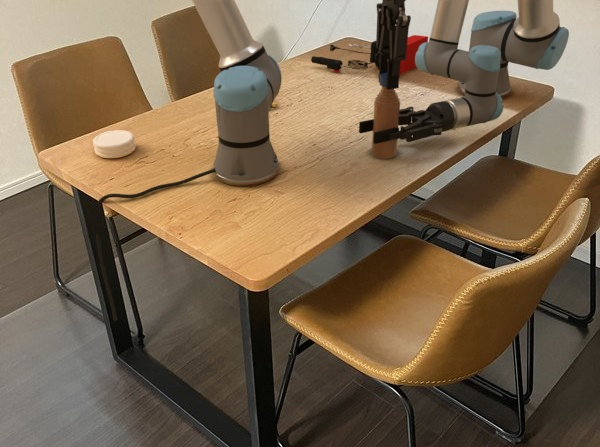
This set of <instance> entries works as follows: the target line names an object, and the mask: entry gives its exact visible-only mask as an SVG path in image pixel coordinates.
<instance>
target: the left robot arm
mask: <svg viewBox="0 0 600 447" xmlns="http://www.w3.org/2000/svg"><path fill="white" fill-rule="evenodd" d="M191 1H192V3H193V5H194V7H195V9H196V11H197V13H198V15H199V16H200V19H201V21H202V23H203V25H204V26H205V29H206V30H207V33H208V34H209V37H210V38H211V41H212V43H213V45H214V47H215V48H216V50H217V52H218V54H219V61H218V65H217V66H218V68H219V70H220V72H219V73H218V74H217V75H216V76H215V78H214V81H213V100H214V106H215V115H216V126H217V135H218V145H217V149H216V153H215V159H214V162H213V167H212V169H209V170H205V171H203V172H200V173H197V174H195V175H192V176H190V177H187V178H185V179H182V180H179V181H175V182H169V183H164V184H163V183H162V184H158V185H155V186H152V187H150V188H147V189H145V190H143V191H140V192H136V193H132V194H124V193H107V194H105V195H103V196H102V197H100V198H99V199H98V201H97V203H98V204H102V203H103V202H104V201H105V200H107V199H111V198H118V199H135V198H140V197H142V196H145V195H147V194H150V193H152V192H155V191H158V190H162V189H167V188H171V187H177V186H181V185H184V184H187V183H190V182H192V181H195V180H197V179H199V178H202V177H205V176H208V175H211V174H213V176H214V177H215V179H217V181H219V182H220V183H223V184H225V185H228V186H229V185H230V186H234V187H251V186H252V187H253V186H257V185H261V184H265V183H267V182H269V181H271V180H273V179H274V178H275V177H276V176H277V175H278V174H279V171H280V166H279V164H280V163H279V160H278V156H277V153H276V151H275V149H274V146H273V144H272V142H271V138H270V136H271V135H270V134H271V133H270V107H271V108H272V106H271V105H272V103H273V101H274V102H275V99H276V98H277V96H278V95H279V93H280V91H281V87H282V79H283V78H282V70H281V67H280V65H279V64H278V62H277V61H276V59H275V58H274V57H273V56H272V55H270V54H268V52H267V50H266V48H265V46H264V44H263V43H262V42H260V41H258V40H255V39H254V38H253V36H252V33H251V32H250V30H249V27H248V26H247V23H246V22H245V20H244V17H243V15H242V13H241V11H240V9H239V6H238V5H237V3H236V1H235V0H191ZM381 1H382V2H380V3H379V2H378V3H376V38H375V41H376V48H379V53H381V54H380V64H379V70H378V83H379V84H380V74H381V73H385V72H387V84H386V89H387V90H388V89H394V90H397V89H399V85H400V75H399V74H400V61H404V60H406V51H407V41H408V37H409V29H410V24H411V20H412V16H411V15H406V4H405V2H406V1H407V0H381ZM388 52H390V53H388ZM95 234H96V246H97V247H96V248H97V252H98V254H97V255H98V259H99V260H98V261H99V265H100V269H101V270H100V271H101V274H102V276H103V281H104V285H105V288H106V292H107V296H108V301H109V304H110V308H111V313H112V317H113V322H117V321H118V316H117V312H116V305H115V301H114V298H113V293H112V290H111V287H110V282H109V280H108V275H107V271H106V266H105V262H104V256H103V250H102V241H101V236H100V235H99V234H98V233H97V232H96V233H95Z"/></svg>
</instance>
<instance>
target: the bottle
mask: <svg viewBox="0 0 600 447" xmlns="http://www.w3.org/2000/svg"><path fill="white" fill-rule="evenodd" d="M373 101H374V102H373V118H372V119H373V131H372V137H371V138H372V140H371V155H372V156H373V157H375V158H378V159H381V160H382V159H385V160H387V159H388V160H389V159H393V158H395V157H396V156H397V148H398V139H395V140H391V141H386V142H382V143H377V144H374V143H373V139H374V132H377V131H382V130H387V129H391V128H396V127H398V128H399V126H400V125H399V112H400V109H401V99H400V97H399V95H398V93H397V91H396V89H388V90H387V89H386V87H382V86H381V89H380V91H379V92H378V94H377V95H376V97H375V98H374V100H373Z"/></svg>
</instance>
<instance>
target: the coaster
mask: <svg viewBox="0 0 600 447" xmlns="http://www.w3.org/2000/svg"><path fill="white" fill-rule="evenodd" d="M92 144H93V149H94V153H95V154H96V155H97V156H98V157H101V158H103V159H118V158H122V157H125V156H128V155H130V154H132V153H134V151H135V150H136V147H137V145H136V141H135V135H134V134H133V133H132V132H131V131H128V130H123V129H114V130H113V129H112V130H108V131H104V132H102V133H98V134H97V135H96V136H95V137H94V138H93V139H92Z"/></svg>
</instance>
